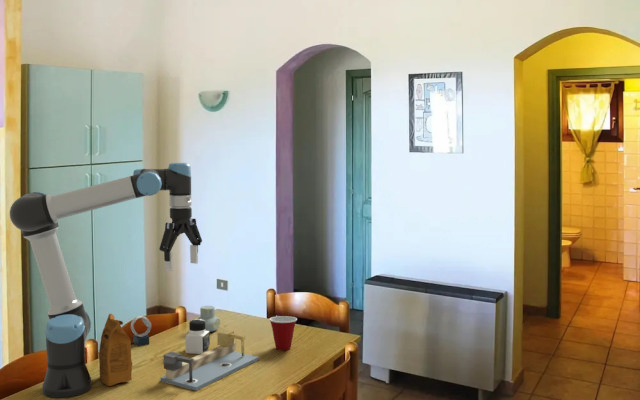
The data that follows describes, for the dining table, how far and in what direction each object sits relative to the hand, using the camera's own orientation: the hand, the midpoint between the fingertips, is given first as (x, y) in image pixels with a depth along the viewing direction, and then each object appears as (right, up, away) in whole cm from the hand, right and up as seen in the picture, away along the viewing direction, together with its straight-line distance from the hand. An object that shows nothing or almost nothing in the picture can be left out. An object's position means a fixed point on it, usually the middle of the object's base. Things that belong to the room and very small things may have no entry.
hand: (181, 266), depth 238 cm
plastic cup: (+35, -34, +24) cm, 54 cm away
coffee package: (-21, -38, -9) cm, 44 cm away
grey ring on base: (-22, -34, +29) cm, 50 cm away
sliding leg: (+16, -34, +13) cm, 39 cm away
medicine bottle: (+2, -35, +20) cm, 40 cm away
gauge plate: (+11, -37, 0) cm, 38 cm away
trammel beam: (+9, -35, +2) cm, 36 cm away
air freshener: (+1, -32, +46) cm, 56 cm away
